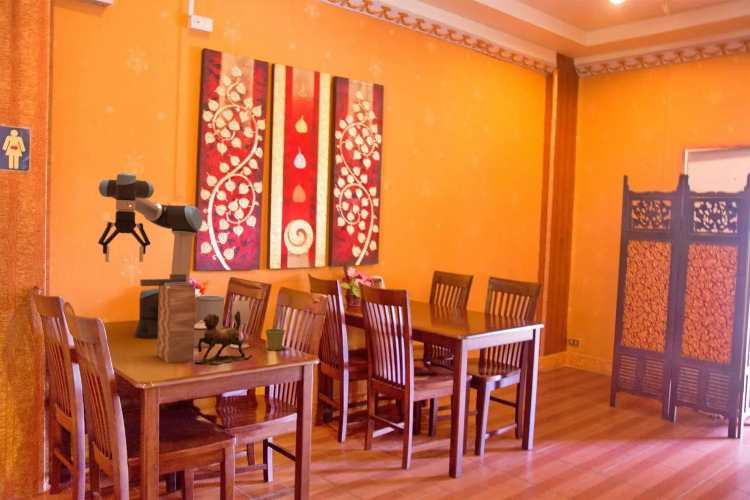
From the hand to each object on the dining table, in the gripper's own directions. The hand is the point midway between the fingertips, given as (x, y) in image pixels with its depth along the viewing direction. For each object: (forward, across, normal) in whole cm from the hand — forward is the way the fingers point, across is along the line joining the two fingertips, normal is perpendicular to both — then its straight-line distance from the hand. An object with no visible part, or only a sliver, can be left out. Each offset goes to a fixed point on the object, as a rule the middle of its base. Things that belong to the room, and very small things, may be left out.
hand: (124, 262), depth 252 cm
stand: (+39, +17, -14) cm, 45 cm away
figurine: (+39, +33, -28) cm, 58 cm away
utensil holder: (+39, +56, +44) cm, 81 cm away
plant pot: (+39, +62, -18) cm, 76 cm away
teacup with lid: (+39, +36, +5) cm, 54 cm away
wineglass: (+39, +51, -5) cm, 64 cm away
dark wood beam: (+9, +14, -9) cm, 19 cm away
